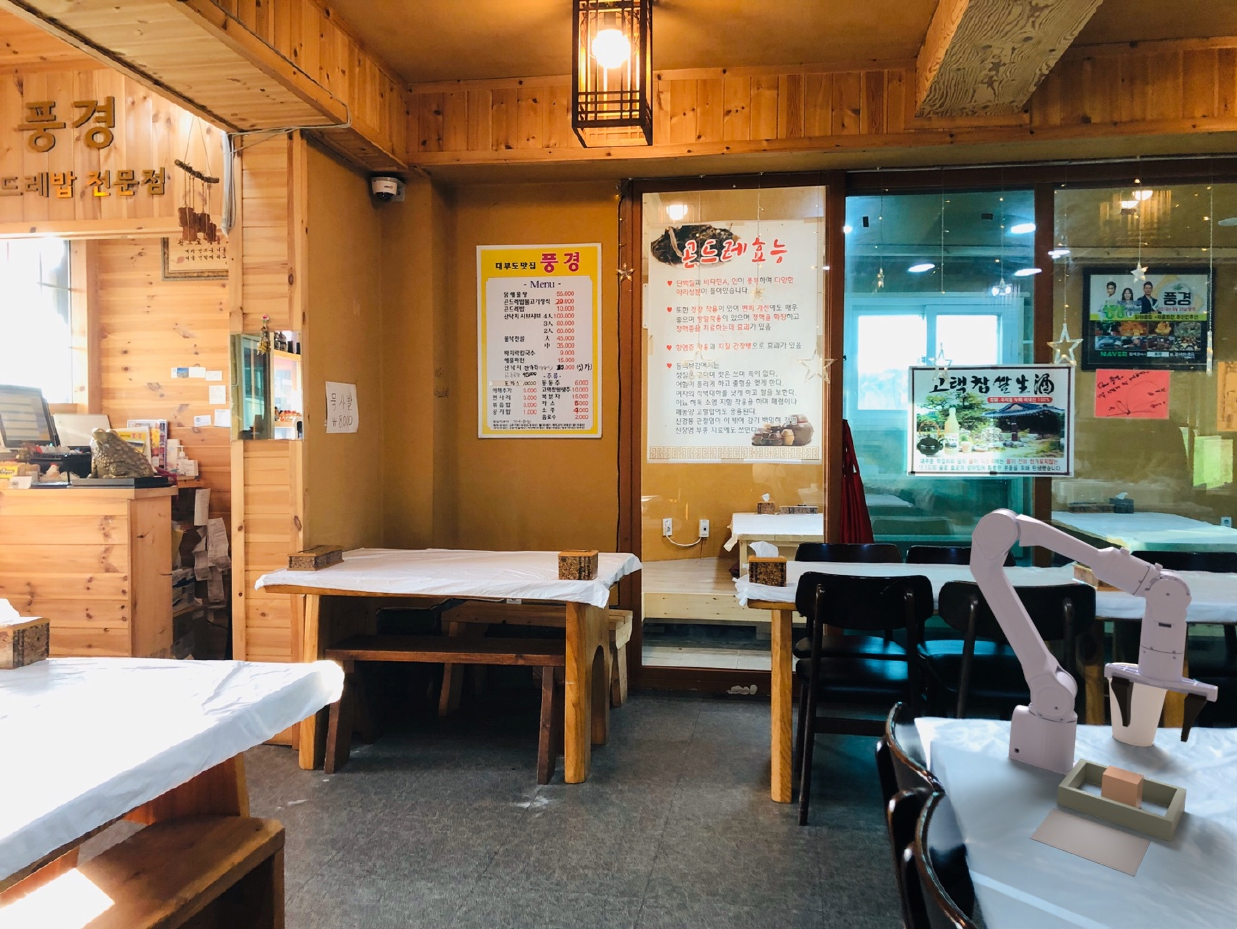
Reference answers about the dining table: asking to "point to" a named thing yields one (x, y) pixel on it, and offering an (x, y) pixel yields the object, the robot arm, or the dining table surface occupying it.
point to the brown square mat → (1092, 841)
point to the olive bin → (1119, 811)
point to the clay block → (1122, 786)
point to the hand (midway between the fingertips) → (1154, 732)
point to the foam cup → (1138, 713)
